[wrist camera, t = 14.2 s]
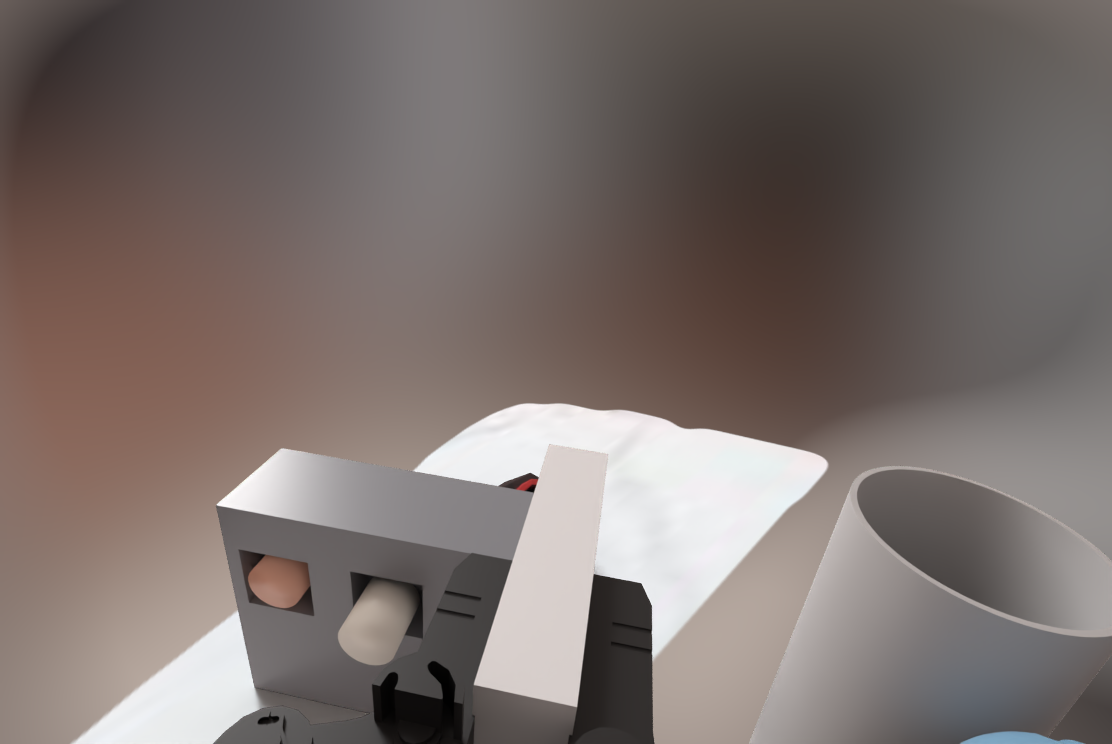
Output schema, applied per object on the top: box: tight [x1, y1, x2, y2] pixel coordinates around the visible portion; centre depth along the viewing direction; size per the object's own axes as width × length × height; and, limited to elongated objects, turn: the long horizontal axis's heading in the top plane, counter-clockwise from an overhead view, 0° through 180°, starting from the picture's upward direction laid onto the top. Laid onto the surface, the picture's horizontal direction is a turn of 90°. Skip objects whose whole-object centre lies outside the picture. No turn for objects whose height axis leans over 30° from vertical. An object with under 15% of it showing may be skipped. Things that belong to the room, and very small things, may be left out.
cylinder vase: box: [750, 466, 1112, 744], centre depth 34 cm, size 12×12×25 cm
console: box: [216, 448, 534, 713], centre depth 41 cm, size 23×7×18 cm, turn 81°
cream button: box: [338, 576, 420, 665], centre depth 36 cm, size 4×4×4 cm
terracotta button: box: [248, 555, 310, 608], centre depth 39 cm, size 4×4×4 cm
